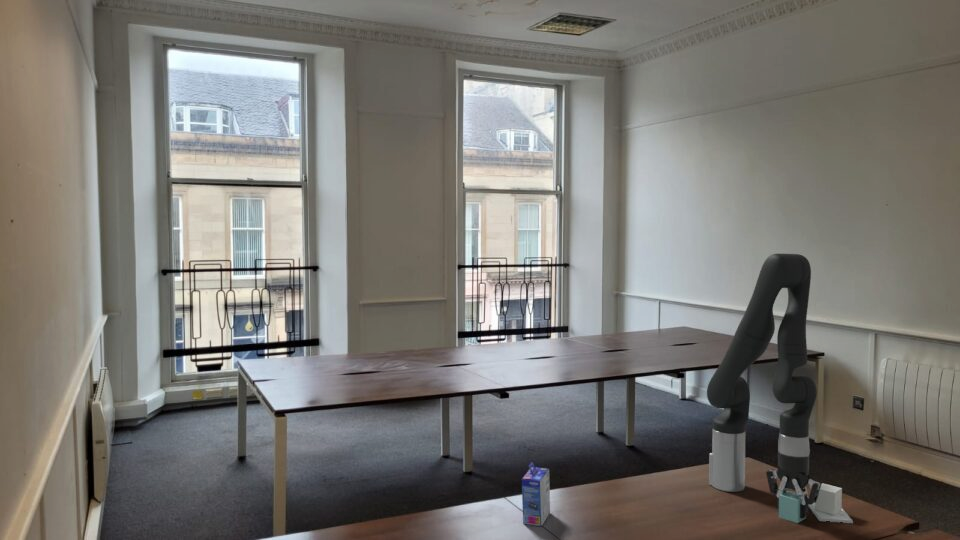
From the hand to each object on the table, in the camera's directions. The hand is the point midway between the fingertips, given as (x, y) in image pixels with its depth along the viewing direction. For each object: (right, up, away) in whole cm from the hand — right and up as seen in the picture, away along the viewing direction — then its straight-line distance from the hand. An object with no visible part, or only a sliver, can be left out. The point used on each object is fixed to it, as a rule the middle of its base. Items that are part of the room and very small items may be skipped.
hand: (792, 514), depth 180 cm
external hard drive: (+11, -2, +3) cm, 12 cm away
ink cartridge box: (-68, -1, 0) cm, 68 cm away
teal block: (0, -1, 0) cm, 1 cm away
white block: (+11, 0, +3) cm, 11 cm away
